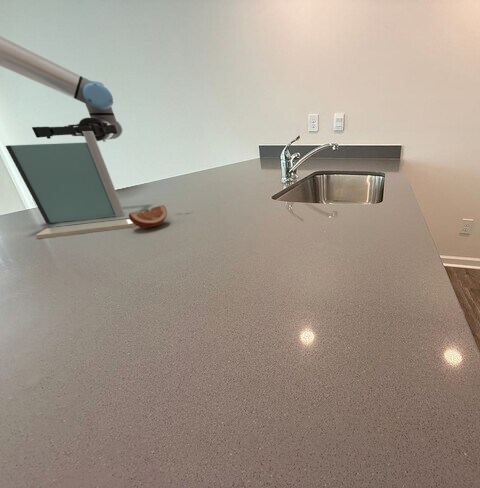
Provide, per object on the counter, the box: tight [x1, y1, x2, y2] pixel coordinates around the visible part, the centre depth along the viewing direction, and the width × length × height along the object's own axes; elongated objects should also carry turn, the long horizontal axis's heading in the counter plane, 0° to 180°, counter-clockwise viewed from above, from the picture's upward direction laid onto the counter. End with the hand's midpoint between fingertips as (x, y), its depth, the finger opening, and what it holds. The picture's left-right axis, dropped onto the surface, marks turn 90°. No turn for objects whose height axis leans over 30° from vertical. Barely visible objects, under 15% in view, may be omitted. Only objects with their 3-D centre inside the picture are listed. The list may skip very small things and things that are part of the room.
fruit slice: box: [128, 204, 168, 229], centre depth 66 cm, size 8×7×5 cm
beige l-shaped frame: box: [35, 131, 136, 240], centre depth 66 cm, size 20×16×23 cm
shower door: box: [5, 141, 116, 224], centre depth 69 cm, size 15×9×19 cm, turn 109°
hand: (65, 131), depth 74 cm, fingers open, 13 cm apart
